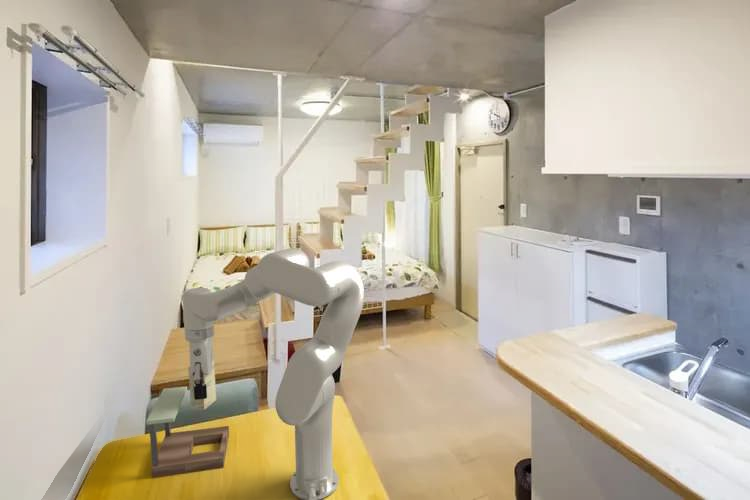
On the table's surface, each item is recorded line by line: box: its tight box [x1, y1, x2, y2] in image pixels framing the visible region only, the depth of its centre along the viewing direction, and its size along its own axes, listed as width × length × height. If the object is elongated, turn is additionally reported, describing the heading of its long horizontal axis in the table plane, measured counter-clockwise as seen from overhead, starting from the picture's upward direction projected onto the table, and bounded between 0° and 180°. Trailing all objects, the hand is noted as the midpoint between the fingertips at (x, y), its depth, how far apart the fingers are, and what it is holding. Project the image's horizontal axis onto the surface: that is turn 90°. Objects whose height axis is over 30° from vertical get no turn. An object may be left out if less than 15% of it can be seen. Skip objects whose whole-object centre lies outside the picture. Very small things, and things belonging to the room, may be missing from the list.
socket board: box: [145, 386, 230, 479], centre depth 119 cm, size 18×18×17 cm
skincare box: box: [188, 360, 217, 410], centre depth 118 cm, size 6×4×12 cm
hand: (203, 391), depth 119 cm, fingers closed on skincare box, 7 cm apart
